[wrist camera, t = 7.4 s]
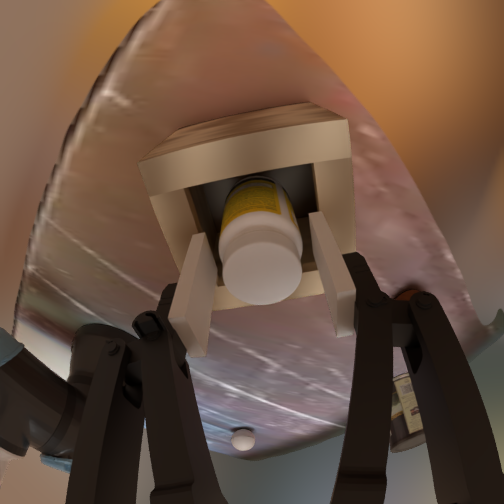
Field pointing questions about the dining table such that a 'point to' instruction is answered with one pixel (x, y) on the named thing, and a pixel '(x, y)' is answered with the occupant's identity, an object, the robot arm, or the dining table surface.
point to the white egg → (243, 439)
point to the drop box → (254, 164)
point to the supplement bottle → (260, 242)
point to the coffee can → (405, 417)
